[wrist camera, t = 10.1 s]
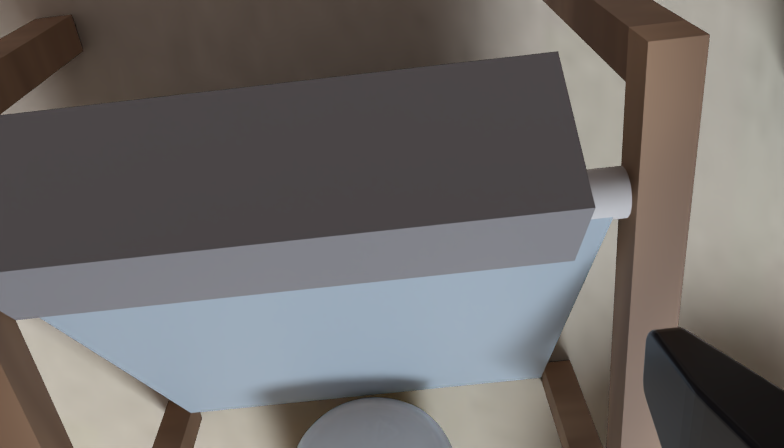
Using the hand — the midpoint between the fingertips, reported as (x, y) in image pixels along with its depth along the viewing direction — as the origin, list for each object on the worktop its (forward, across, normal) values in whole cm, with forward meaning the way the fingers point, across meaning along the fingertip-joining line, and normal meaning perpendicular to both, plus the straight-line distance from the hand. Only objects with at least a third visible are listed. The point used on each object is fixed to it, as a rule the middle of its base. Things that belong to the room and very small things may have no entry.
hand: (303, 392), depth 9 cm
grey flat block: (+9, +1, +3) cm, 9 cm away
